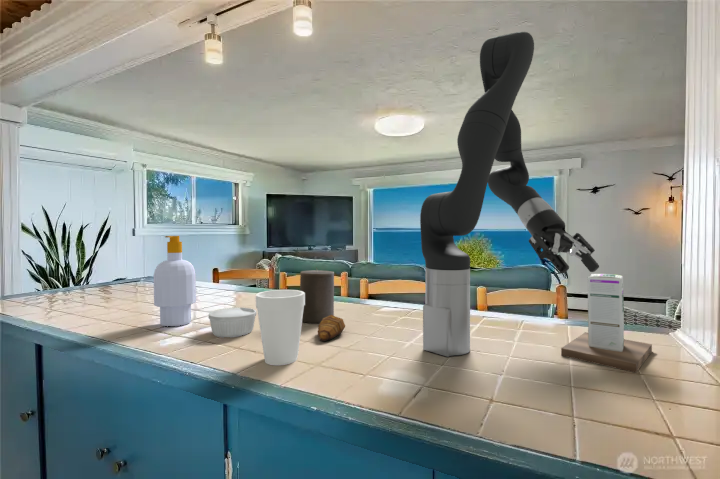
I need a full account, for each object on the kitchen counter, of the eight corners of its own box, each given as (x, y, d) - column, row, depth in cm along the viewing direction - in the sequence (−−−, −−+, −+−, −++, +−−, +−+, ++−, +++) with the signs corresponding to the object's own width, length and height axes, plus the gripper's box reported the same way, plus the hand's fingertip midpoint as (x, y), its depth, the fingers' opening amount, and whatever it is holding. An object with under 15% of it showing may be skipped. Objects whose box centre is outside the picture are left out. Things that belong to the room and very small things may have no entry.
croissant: (337, 344, 79) (337, 322, 79) (308, 342, 80) (308, 320, 80) (351, 328, 92) (351, 309, 92) (327, 327, 94) (327, 308, 94)
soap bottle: (145, 328, 93) (143, 236, 92) (172, 318, 103) (170, 235, 102) (180, 329, 91) (178, 236, 91) (204, 319, 101) (203, 235, 101)
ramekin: (265, 330, 90) (265, 310, 90) (228, 342, 81) (228, 319, 81) (237, 324, 96) (236, 305, 96) (199, 334, 87) (199, 313, 87)
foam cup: (313, 354, 72) (313, 291, 72) (290, 371, 64) (289, 299, 63) (273, 349, 75) (272, 288, 75) (246, 364, 67) (245, 296, 66)
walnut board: (636, 372, 62) (636, 364, 62) (561, 355, 71) (561, 347, 71) (651, 351, 73) (651, 344, 73) (585, 338, 82) (585, 332, 82)
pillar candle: (304, 325, 95) (305, 269, 95) (296, 317, 104) (296, 266, 103) (338, 321, 99) (339, 268, 98) (327, 314, 108) (328, 265, 107)
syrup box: (623, 352, 68) (624, 277, 68) (586, 346, 72) (587, 275, 71) (623, 345, 72) (624, 274, 72) (589, 339, 76) (590, 272, 76)
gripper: (525, 207, 83) (566, 260, 73) (571, 209, 88) (617, 258, 77) (509, 230, 89) (545, 282, 78) (553, 230, 93) (594, 279, 82)
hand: (580, 270), depth 77 cm, fingers open, 8 cm apart
